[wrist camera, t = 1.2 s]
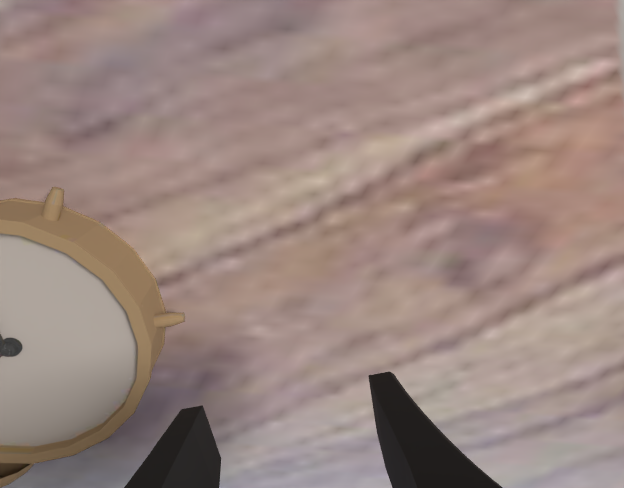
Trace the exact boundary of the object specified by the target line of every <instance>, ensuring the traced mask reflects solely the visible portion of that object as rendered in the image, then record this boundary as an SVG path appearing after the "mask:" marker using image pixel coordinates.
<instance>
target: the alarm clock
mask: <svg viewBox="0 0 624 488" xmlns="http://www.w3.org/2000/svg"><path fill="white" fill-rule="evenodd" d="M63 200H64V190H63V189H61V188H58V187H52V189H51V191H50V193H49V195H48V197H47V199H46V200H45V202H38V201H31V200H24V199H17V198H13V199H6V200H0V487H3V486H6V485H8V484H10V483H11V482H13V481H14V480H16V479H17V478H19V477H20V476H22V475H23V474H25V473H26V472H27V471H28V470H29V469H30V468H31V467H32V466H33V464H34V463H39V462H44V461H48V460H53V459H58V458H63V457H68V456H72V455H75V454H77V453H79V452H81V451H83V450H85V449H87V448H89V447H91V446H93V445H95V444H97V443H99V442H101V441H103V440H105V439H107V438H109V437H110V436H111V435H112V434H113V433H114V432H115V431H116V430H117V429H118V428H119V427H120V426H121V425H122V424H123V423H124V422H125V421H126V420H127V419H128V418H129V417H130V416H131V415H132V414H133V413H134V412H135V410H136V408H137V406H138V404H139V402H140V400H141V398H142V395H143V393H144V391H145V389H146V387H147V385H148V383H149V381H150V378H151V372H152V369H153V367H154V364H155V362H156V360H157V358H158V356H159V354H160V352H161V349H162V347H163V345H164V340H165V327H168V326H173V325H176V324H179V323H182V322H185V315H184V313H171V312H170V313H166V310H165V307H164V304H163V301H162V298H161V294H160V291H159V288H158V285H157V282H156V279H155V278H154V276H153V275H152V274H151V272H150V271H149V269H148V268H147V267H146V265H145V264H144V262H143V261H142V260H141V258H140V257H139V255H138V254H137V253H136V251H135V250H134V248H132V247H131V246H130V245H129V244H127V243H126V242H125V241H123V240H122V239H121V238H120V237H118V236H117V235H116V234H115V233H113V232H112V231H111V230H109V229H108V228H107V227H106V226H104V225H103V224H102V223H101V222H99V221H96V220H94V219H92V218H89V217H87V216H85V215H82V214H80V213H78V212H75V211H73V210H71V209H68V208H66V207H64V206H63Z"/></svg>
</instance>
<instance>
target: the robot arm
mask: <svg viewBox="0 0 624 488" xmlns="http://www.w3.org/2000/svg"><path fill="white" fill-rule="evenodd" d="M369 382H370V389H371V395H372V402H373V409H374V415H375V422H376V429H377V434H378V438H379V442H380V446H381V450H382V454H383V459H384V463H385V467H386V470H387V473H388V476H389V478H390V481H391V484H392V487H393V488H502V487H501V486H500V485H499V484H497V483H496V482H495V481H494V480H492V479H491V478H490V477H489V476H488V475H487V474H485V473H484V472H483V471H482V470H481V469H480V468H478V467H477V466H476V465H475V464H474V463H473V462H472V461H471V460H469V459H468V458H467V457H466V456H465V455H464V454H463V453H462V452H461V451H460V450H459V449H458V448H457V447H456V446H455V445H454V444H453V443H452V442H451V441H450V440H449V439H448V438H447V437H446V436H445V435H444V434H443V433H442V432H441V431H440V430H439V429H438V428H437V427H436V426H435V425H434V424H433V422H432V421H431V420H430V419H429V418H428V417H427V416H426V415H425V414H424V413H423V411H422V410H421V409H420V408H419V407H418V406H417V404H416V403H415V402H414V401H413V399H412V398H411V397H410V396H409V395H408V393H407V392H406V391H405V389H404V388H403V387H402V385H401V384H400V382H399V381H398V380H397V378H396V376H395V375H394V374H393V373H391V372H385V373H380V374H374V375H369ZM220 467H221V457H220V454H219V451H218V448H217V445H216V442H215V440H214V437H213V434H212V431H211V428H210V425H209V422H208V419H207V417H206V414H205V411H204V408H203V406H198V407H192V408H187V409H182V410H181V411H180V412H179V414H178V415H177V416H176V418H175V419H174V420H173V422H172V423H171V425H170V426H169V427H168V429H167V430H166V432H165V433H164V434H163V436H162V437H161V439H160V440H159V441H158V443H157V444H156V446H155V447H154V448H153V450H152V451H151V453H150V454H149V455H148V457H147V458H146V459H145V461H144V462H143V463H142V465H141V466H140V467H139V469H138V470H137V472H136V473H135V474H134V476H133V477H132V478H131V480H130V481H129V482H128V483H127V485H126V486H125V487H124V488H219V482H220Z"/></svg>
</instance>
